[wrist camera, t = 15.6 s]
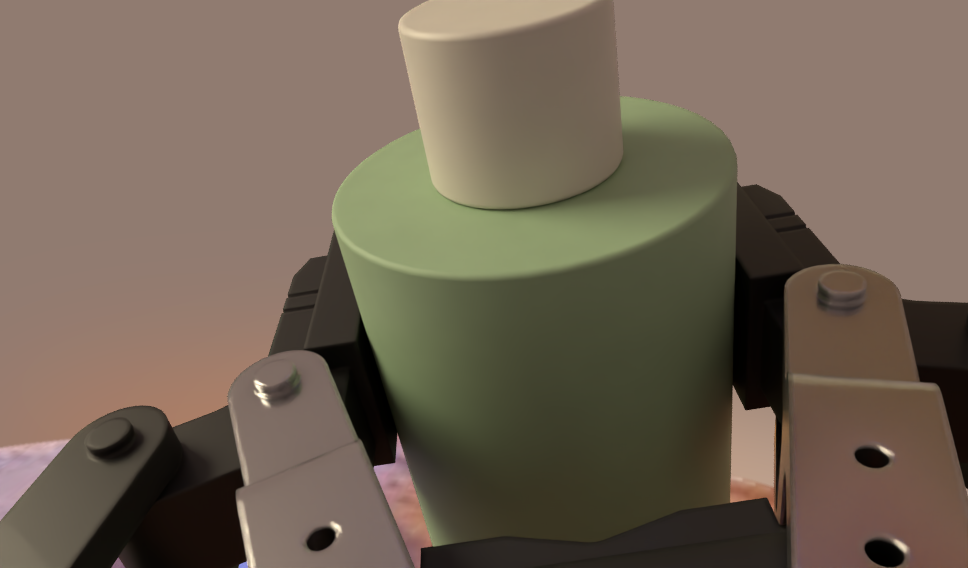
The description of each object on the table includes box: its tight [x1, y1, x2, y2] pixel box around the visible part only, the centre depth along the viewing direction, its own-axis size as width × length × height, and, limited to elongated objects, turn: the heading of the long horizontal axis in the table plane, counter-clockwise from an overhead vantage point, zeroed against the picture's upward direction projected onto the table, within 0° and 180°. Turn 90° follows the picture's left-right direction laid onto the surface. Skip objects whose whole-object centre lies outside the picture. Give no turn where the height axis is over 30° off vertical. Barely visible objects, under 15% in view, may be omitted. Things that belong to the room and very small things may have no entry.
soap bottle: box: [332, 0, 737, 546], centre depth 13 cm, size 5×5×17 cm
